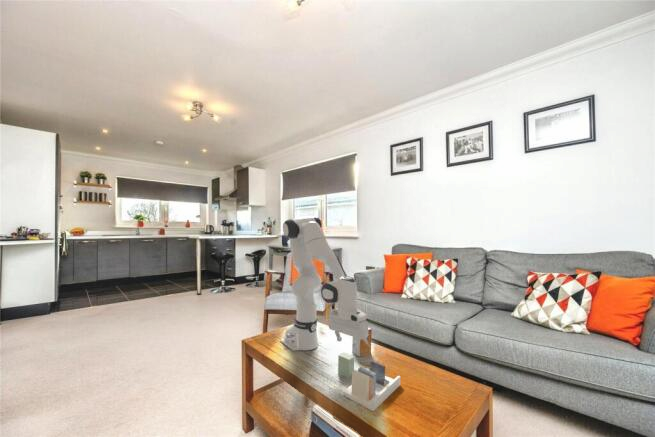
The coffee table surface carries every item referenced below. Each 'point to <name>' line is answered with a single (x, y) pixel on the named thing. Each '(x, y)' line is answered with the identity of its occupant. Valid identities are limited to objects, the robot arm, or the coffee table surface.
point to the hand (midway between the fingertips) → (347, 343)
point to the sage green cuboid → (345, 364)
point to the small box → (363, 345)
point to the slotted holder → (371, 386)
